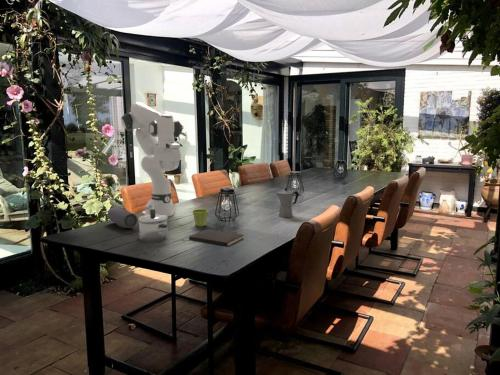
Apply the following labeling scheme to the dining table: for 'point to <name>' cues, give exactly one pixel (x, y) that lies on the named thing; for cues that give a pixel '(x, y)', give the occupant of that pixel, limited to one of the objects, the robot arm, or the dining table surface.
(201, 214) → the plant pot
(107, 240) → the dining table surface
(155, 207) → the robot arm
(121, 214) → the bluetooth speaker
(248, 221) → the dining table surface
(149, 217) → the lid
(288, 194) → the coffeepot
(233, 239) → the hardcover book
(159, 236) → the cooker
